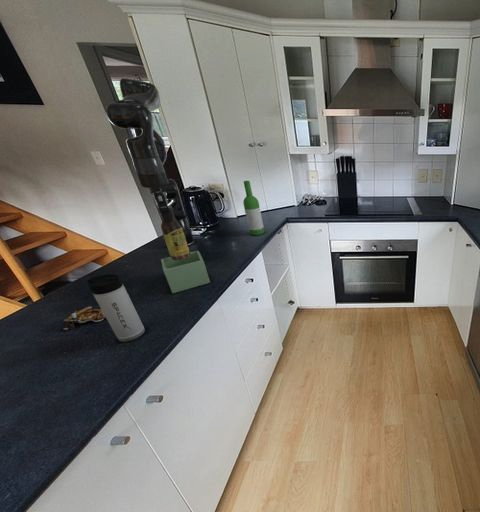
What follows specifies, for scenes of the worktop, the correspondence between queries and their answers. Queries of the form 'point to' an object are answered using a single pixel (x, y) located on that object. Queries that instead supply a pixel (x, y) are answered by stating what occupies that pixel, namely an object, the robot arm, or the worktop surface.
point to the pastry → (84, 316)
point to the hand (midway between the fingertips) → (168, 219)
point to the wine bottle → (252, 211)
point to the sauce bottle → (174, 237)
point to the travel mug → (116, 306)
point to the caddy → (185, 272)
